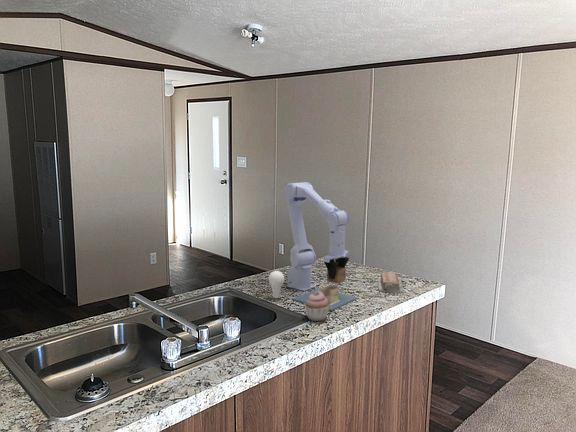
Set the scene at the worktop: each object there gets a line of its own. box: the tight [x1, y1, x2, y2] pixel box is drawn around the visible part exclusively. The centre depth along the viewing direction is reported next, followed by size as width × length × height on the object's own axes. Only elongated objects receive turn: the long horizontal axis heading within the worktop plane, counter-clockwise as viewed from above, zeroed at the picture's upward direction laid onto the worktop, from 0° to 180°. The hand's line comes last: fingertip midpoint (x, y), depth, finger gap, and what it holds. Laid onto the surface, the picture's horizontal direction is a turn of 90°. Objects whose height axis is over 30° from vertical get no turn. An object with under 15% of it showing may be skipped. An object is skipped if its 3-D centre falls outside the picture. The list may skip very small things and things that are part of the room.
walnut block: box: [326, 266, 347, 284], centre depth 184 cm, size 5×5×5 cm
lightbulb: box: [268, 270, 285, 300], centre depth 186 cm, size 6×6×11 cm
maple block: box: [319, 285, 340, 304], centre depth 182 cm, size 5×5×5 cm
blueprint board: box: [292, 287, 358, 312], centre depth 186 cm, size 18×18×1 cm
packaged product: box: [377, 271, 404, 294], centre depth 205 cm, size 18×5×10 cm
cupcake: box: [303, 291, 331, 322], centre depth 166 cm, size 9×9×10 cm
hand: (336, 276), depth 184 cm, fingers closed on walnut block, 5 cm apart
